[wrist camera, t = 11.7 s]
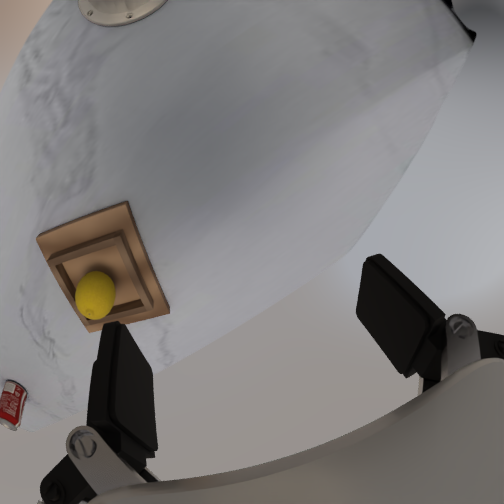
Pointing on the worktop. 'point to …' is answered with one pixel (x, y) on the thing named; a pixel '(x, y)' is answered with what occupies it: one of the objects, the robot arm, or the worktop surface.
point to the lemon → (95, 295)
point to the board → (105, 263)
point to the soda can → (12, 405)
